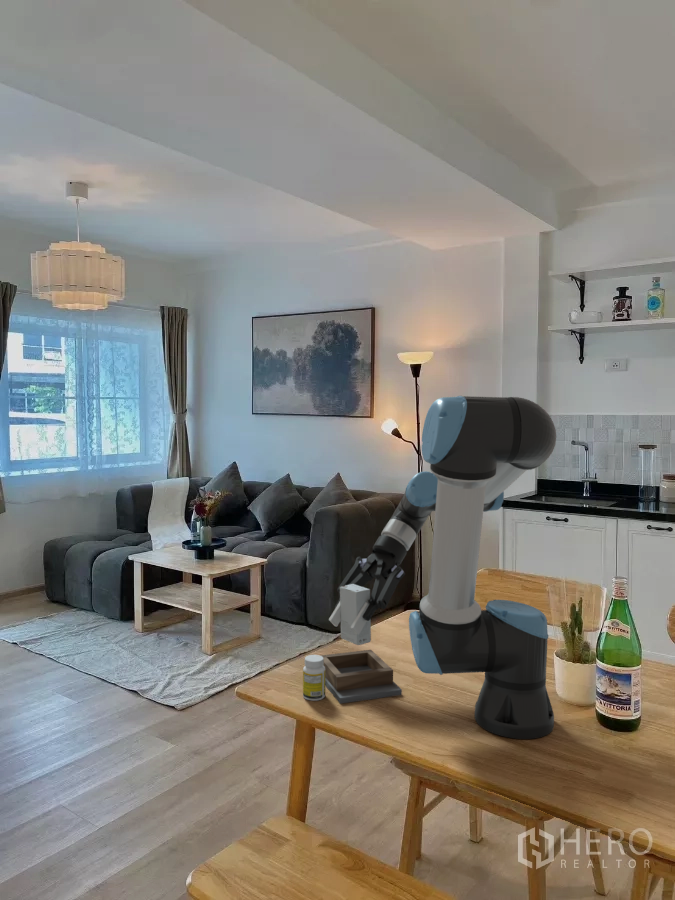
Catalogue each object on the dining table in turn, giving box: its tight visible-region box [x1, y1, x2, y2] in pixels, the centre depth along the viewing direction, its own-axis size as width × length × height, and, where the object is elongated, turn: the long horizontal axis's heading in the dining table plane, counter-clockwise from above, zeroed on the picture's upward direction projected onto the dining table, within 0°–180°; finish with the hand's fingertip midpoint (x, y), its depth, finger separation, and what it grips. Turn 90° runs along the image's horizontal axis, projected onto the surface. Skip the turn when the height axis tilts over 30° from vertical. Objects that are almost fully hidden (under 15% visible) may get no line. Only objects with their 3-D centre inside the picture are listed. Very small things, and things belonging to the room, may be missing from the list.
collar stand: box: [320, 649, 403, 704], centre depth 156 cm, size 20×14×4 cm
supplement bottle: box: [302, 654, 326, 702], centre depth 148 cm, size 5×5×8 cm
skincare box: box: [339, 584, 372, 646], centre depth 156 cm, size 6×4×12 cm
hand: (343, 626), depth 154 cm, fingers closed on skincare box, 6 cm apart
